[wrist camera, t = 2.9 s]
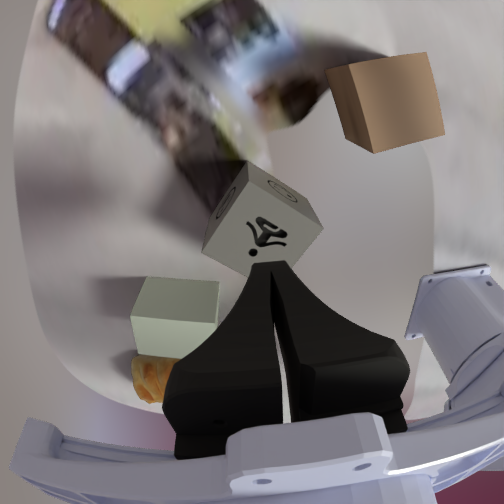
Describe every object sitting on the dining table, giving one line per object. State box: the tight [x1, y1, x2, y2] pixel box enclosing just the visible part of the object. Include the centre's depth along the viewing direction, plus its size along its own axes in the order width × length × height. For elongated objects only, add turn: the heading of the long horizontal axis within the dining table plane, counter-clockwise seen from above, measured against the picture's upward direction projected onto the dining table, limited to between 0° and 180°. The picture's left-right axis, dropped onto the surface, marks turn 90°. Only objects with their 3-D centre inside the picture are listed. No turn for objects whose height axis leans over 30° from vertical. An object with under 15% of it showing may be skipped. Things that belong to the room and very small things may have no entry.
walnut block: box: [324, 52, 445, 154], centre depth 16 cm, size 5×5×5 cm
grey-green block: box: [130, 276, 219, 359], centre depth 23 cm, size 6×4×5 cm, turn 85°
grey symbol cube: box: [201, 161, 323, 277], centre depth 20 cm, size 5×5×5 cm
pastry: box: [131, 354, 181, 404], centre depth 29 cm, size 9×7×4 cm
